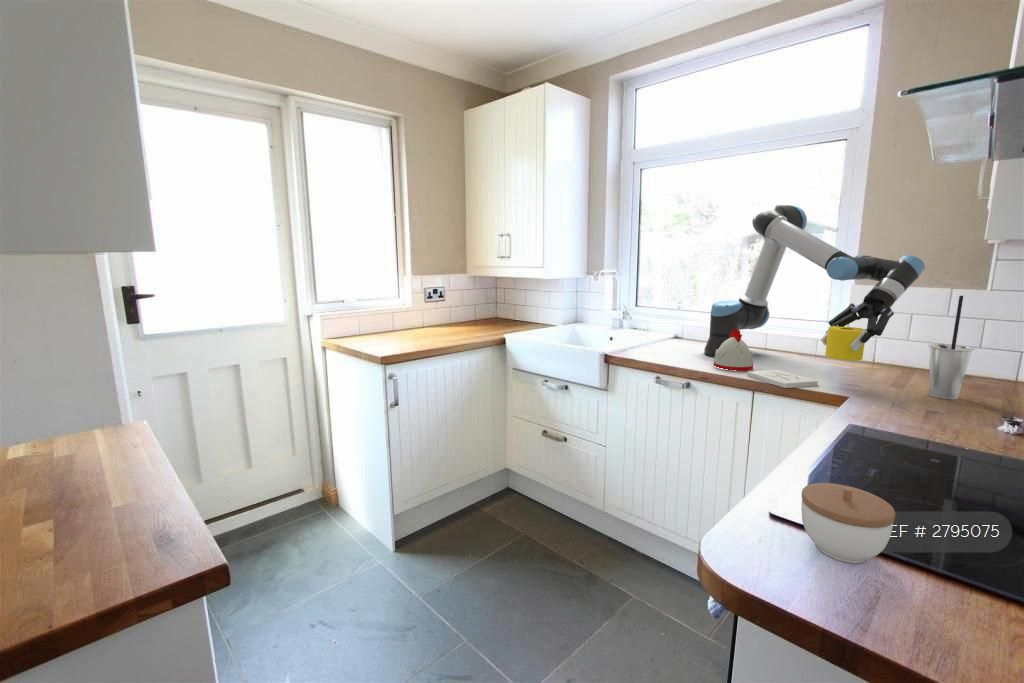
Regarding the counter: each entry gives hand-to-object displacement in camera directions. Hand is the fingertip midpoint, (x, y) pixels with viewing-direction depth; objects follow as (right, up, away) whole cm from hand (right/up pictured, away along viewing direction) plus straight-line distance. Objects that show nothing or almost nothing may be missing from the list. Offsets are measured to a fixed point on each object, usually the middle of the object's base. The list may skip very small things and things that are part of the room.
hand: (837, 345), depth 152 cm
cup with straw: (+25, -15, -10) cm, 31 cm away
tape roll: (+3, -4, +2) cm, 5 cm away
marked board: (-13, -12, +9) cm, 20 cm away
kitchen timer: (-20, -9, +30) cm, 37 cm away
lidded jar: (-59, -29, -85) cm, 107 cm away
